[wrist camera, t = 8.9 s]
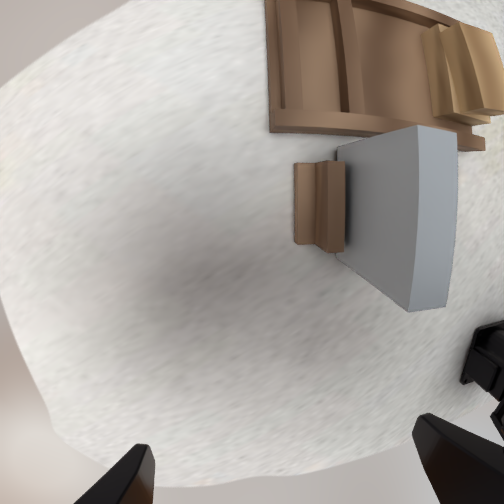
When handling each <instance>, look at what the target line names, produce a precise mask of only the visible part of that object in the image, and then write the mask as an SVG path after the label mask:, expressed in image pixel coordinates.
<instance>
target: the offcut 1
mask: <svg viewBox="0 0 504 504" xmlns="http://www.w3.org/2000/svg"><path fill="white" fill-rule="evenodd" d="M447 28H449V27H446V26H444V25H441V24H436V25H435V26H433V27H431V28H430V29H428V30H427V31H425V32H424V33H422V34H421V38H422V43H423V48H424V53H425V59H426V65H427V71H428V78H429V85H430V93H431V102H432V112H433V117H434V118H439V119H443V120H447V121H451V122H456V123H460V124H463V125H467V126H475V125H482V124H489V123H491V121H490V116H486V115H477V114H467V113H460V110H459V105H458V100H457V96H456V92H455V87H454V83H453V79H452V76H451V72H450V68H449V65H448V61H447V58H446V55H445V51H444V48H443V45H442V42H441V39H440V36H439V33H440V32H442V31H444V30H445V29H447Z"/></svg>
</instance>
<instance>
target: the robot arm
mask: <svg viewBox="0 0 504 504" xmlns="http://www.w3.org/2000/svg"><path fill="white" fill-rule="evenodd" d="M473 381H475V382H476V383H477V384H478V385H479V386H480V387H481V388H482V389H483V390H485V391H486V392H489V393H490V394H491V395H492V396H493V397H494V398H495V399H496V400H497V401H498V402H500V403H499V405H498V406H497V408H496V409H495V411H494V412H493V413H492V414H491V416H490V417H491V419H492V421H493V423H494V425H495V427H496V428H497V430H498V431H499V433H500V435H501V437H502V438H503V440H504V321H501V322H498V323H494V324H491V325H487V326H484V327H480V328H478V329H477V330H476V331H475V334H474V338H473V341H472V345H471V348H470V352H469V355H468V359H467V362H466V365H465V368H464V371H463V374H462V377H461V380H460V383H461V384H462V385H465V384H468V383H470V382H473ZM412 437H413V440H414V442H415V445H416V448H417V451H418V454H419V457H420V459H421V462H422V465H423V468H424V470H425V472H426V474H427V476H428V479H429V481H430V483H431V485H432V487H433V489H434V491H435V493H436V495H437V497H438V500H439V502H440V504H504V447H502V446H500V445H498V444H496V443H494V442H491V441H489V440H487V439H484V438H482V437H480V436H478V435H475V434H473V433H471V432H469V431H466V430H465V429H462V428H460V427H458V426H456V425H454V424H452V423H450V422H447V421H445V420H443V419H441V418H439V417H437V416H435V415H433V414H431V413H426V414H422V415H420V416H419V417H418V418H417V421H416V423H415V426H414V428H413V431H412ZM154 475H155V459H154V457H153V454H152V451H151V448H150V446H149V445H147V444H135V445H134V446H133V447H132V448H131V449H130V450H129V451H128V452H127V453H126V454H125V455H124V456H123V457H122V458H121V459H120V460H119V461H118V462H117V463H116V464H115V465H114V466H113V467H112V468H111V469H110V470H109V471H108V472H107V473H106V474H105V475H104V476H102V477H101V478H100V479H99V480H98V481H97V482H96V483H95V484H94V485H93V486H92V487H91V488H90V489H89V490H88V491H87V492H85V494H83V495H82V496H81V497H80V498H79V499H78V500H77V501H76V502H75V503H74V504H152V503H153V490H154Z"/></svg>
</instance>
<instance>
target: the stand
mask: <svg viewBox="0 0 504 504" xmlns="http://www.w3.org/2000/svg"><path fill="white" fill-rule="evenodd" d="M294 184H295V242H296V243H297V244H298V245H304V244H316V245H317V246H318V247H320V248H321V249H322V250H324V251H325V252H326V253H339V252H344V238H345V161H323V162H318V163H295V164H294Z"/></svg>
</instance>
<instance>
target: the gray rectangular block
mask: <svg viewBox="0 0 504 504" xmlns="http://www.w3.org/2000/svg"><path fill="white" fill-rule="evenodd" d="M337 158H338V161H345V238H344V252H339V253H336V258H337V259H339V260H340V261H341V262H343V263H344V264H345V265H347V266H348V267H349V268H351V269H352V270H353V271H355V272H356V273H357V274H359V275H360V276H361V277H363V278H364V279H365V280H367V281H368V282H369V283H371V284H372V285H373V286H374V287H376V288H377V289H378V290H380V291H381V292H382V293H384V294H385V295H386V296H387V297H389V298H390V299H391V300H393V301H394V302H395V303H396V304H398V305H399V306H400V307H402V308H403V309H404V310H405V311H407V312H415V311H422V310H429V309H435V308H441V307H446V302H447V297H448V291H449V285H450V278H451V271H452V264H453V255H454V246H455V235H456V222H457V203H458V150H457V133H454V132H450V131H445V130H441V129H436V128H431V127H426V126H421V125H415V126H411V127H407V128H403V129H399V130H395V131H392V132H388V133H384V134H381V135H377V136H373V137H370V138H366V139H363V140H359V141H356V142H352V143H349V144H346V145H342V146H339V147H337Z"/></svg>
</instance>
